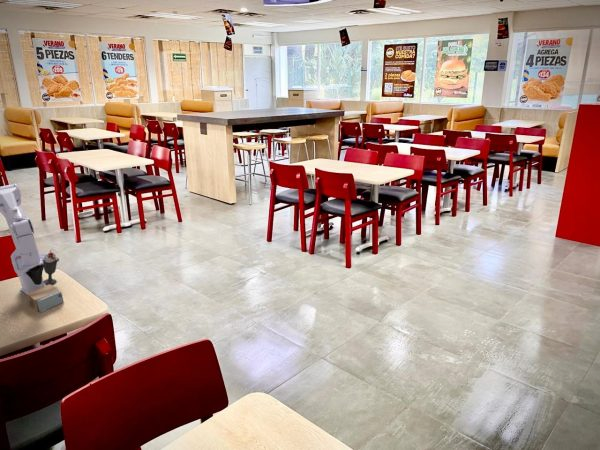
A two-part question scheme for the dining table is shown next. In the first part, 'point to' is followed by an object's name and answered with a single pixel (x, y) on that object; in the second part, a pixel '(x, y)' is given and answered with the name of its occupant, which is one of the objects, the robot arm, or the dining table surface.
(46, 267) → the sundae
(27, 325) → the dining table surface
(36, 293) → the cabinet
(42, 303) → the door
